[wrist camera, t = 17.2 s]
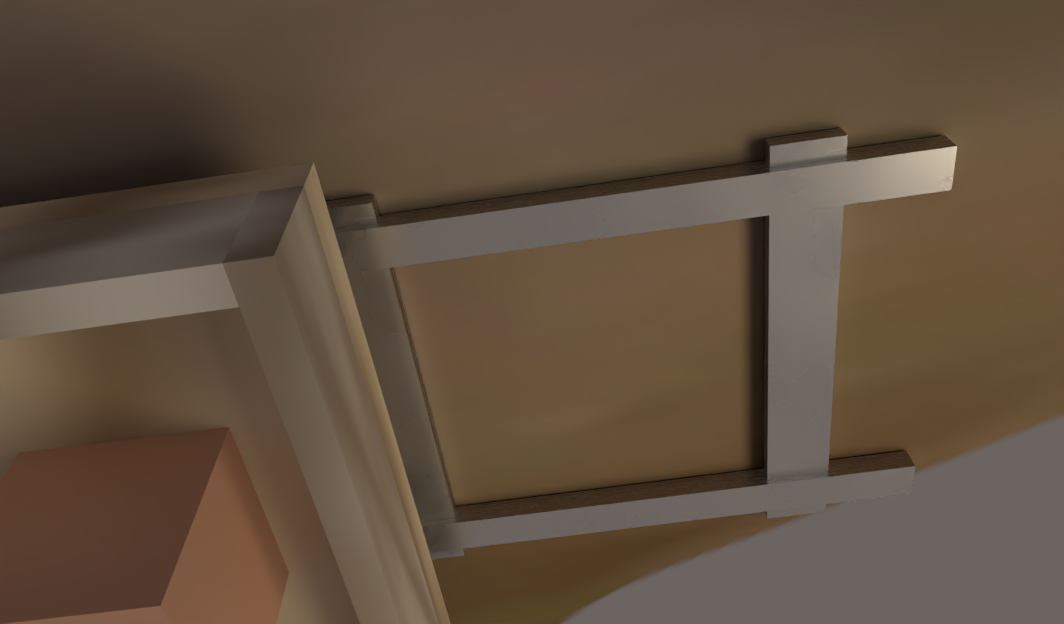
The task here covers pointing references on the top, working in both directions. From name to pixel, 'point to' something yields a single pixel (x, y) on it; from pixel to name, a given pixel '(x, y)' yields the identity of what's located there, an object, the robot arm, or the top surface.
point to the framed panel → (636, 207)
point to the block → (137, 535)
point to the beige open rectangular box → (220, 368)
